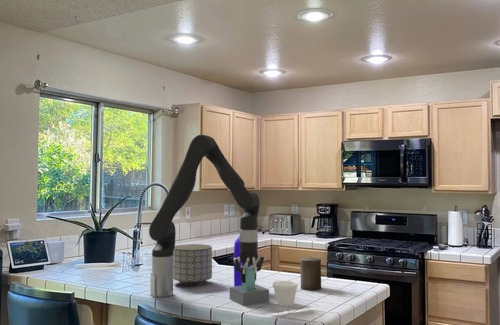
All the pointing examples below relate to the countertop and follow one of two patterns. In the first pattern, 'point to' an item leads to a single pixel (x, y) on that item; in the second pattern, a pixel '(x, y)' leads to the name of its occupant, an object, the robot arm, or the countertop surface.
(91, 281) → the countertop surface
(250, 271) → the plug
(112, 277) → the countertop surface
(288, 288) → the cup
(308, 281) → the pillar candle
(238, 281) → the bottle
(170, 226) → the robot arm
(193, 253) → the planter
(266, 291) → the grey socket block
